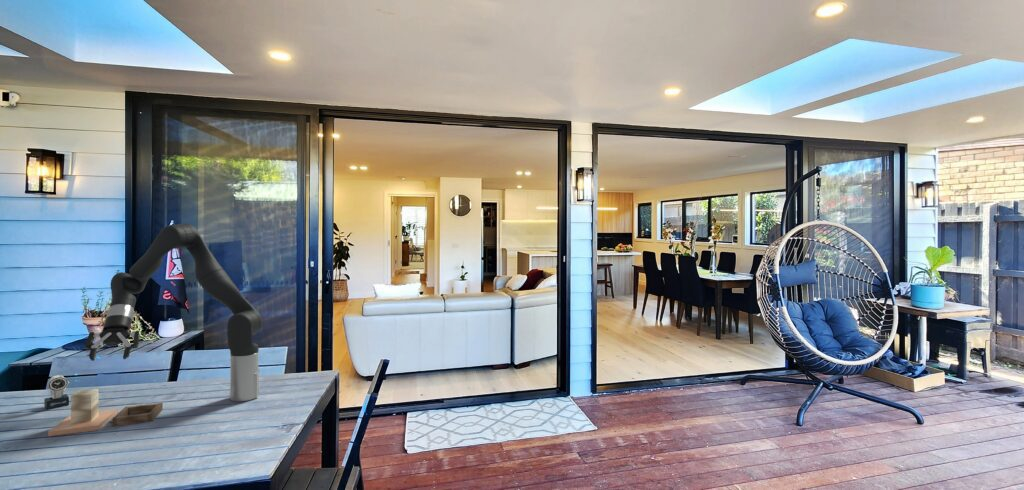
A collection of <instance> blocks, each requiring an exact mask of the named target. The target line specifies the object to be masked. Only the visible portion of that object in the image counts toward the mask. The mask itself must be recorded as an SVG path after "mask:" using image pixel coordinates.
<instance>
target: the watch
mask: <svg viewBox="0 0 1024 490" xmlns="http://www.w3.org/2000/svg"><path fill="white" fill-rule="evenodd" d="M69 384H70V381H68V379H67V378H66V377H64V376H63V375H62V374H59V375H58V374H57V375H53V376H50V380H49V382H48V385H47V387H48V389H49V393H50V395H51V397H46V398H44V399H43V400H44V403H43V405H44V409H45V410H46V411H50V410H54V409H55V410H56V409H58V408H64V407H68V406H69V405H70V396H69V395H68V394H66V393H65V394H64V392H65V391H66V389H67V387H68V385H69Z"/></svg>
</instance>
